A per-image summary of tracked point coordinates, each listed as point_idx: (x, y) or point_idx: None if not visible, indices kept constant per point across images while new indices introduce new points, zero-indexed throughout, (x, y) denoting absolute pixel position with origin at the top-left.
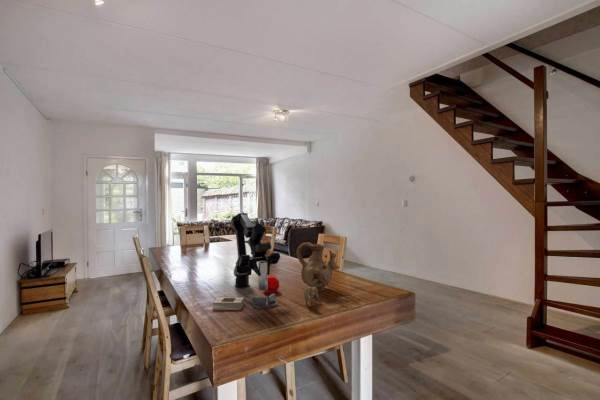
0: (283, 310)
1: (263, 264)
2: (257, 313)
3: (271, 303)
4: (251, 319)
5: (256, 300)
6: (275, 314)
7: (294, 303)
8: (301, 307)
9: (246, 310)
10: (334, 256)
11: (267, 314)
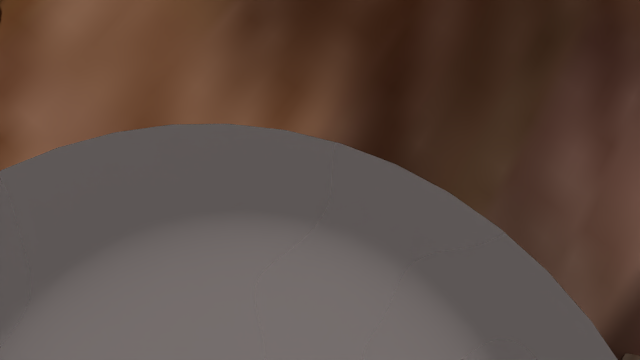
0: (253, 45)
1: (390, 192)
2: (512, 131)
3: None
4: (631, 32)
5: None
6: (379, 5)
7: (23, 147)
8: (61, 7)
9: (574, 286)
10: None
11: (442, 49)
